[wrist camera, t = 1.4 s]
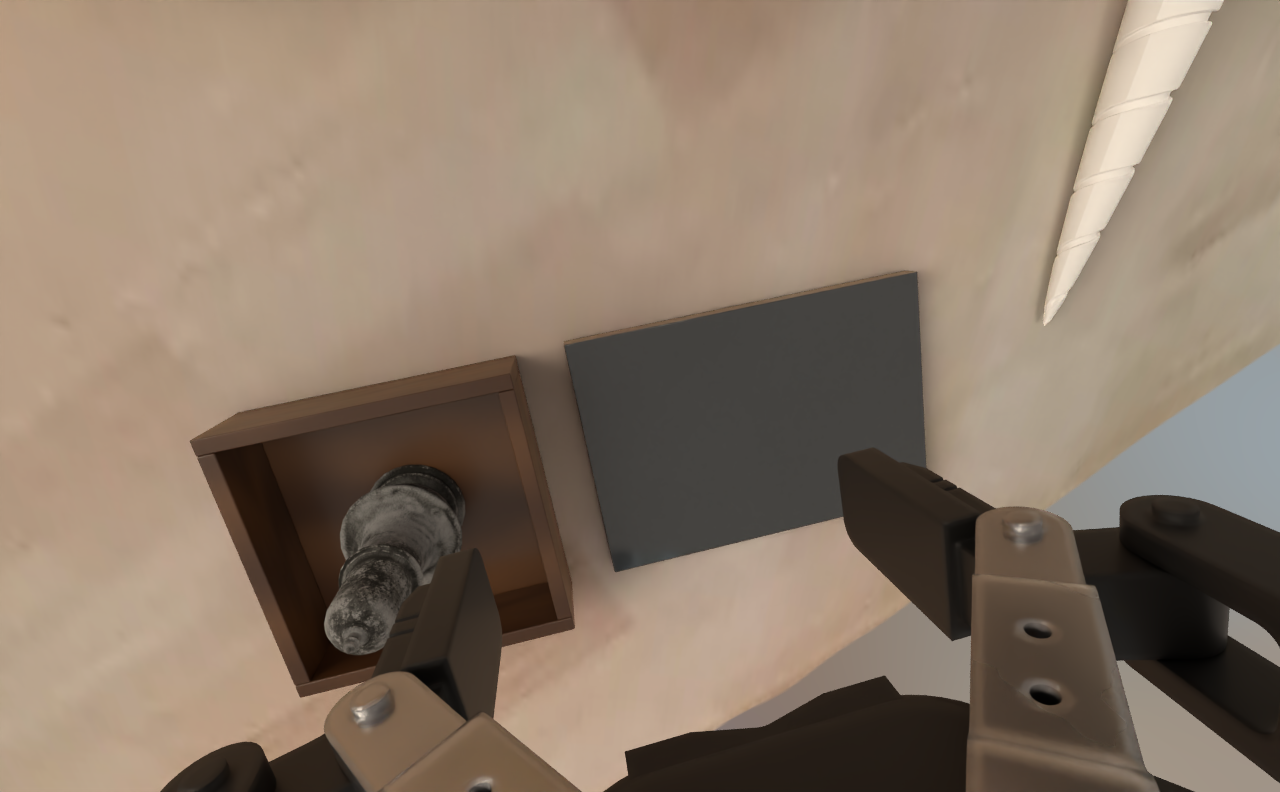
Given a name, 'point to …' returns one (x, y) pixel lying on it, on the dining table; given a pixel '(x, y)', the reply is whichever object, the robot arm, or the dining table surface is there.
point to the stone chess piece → (391, 552)
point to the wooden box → (348, 468)
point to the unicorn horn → (1126, 122)
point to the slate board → (746, 413)
